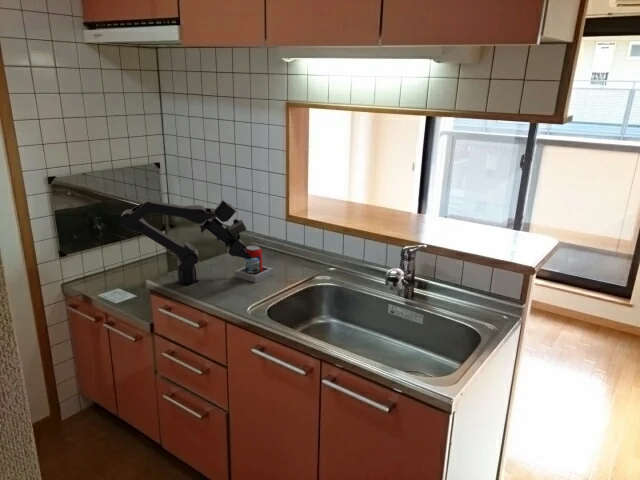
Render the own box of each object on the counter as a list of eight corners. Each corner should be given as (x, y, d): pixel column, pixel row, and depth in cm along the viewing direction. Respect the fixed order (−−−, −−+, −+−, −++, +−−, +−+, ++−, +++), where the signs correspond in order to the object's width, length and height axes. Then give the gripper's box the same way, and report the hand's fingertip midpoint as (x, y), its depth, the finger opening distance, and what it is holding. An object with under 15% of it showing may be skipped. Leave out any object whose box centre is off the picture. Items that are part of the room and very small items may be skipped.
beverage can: (243, 277, 200) (241, 249, 196) (250, 271, 206) (248, 244, 203) (258, 279, 198) (257, 250, 195) (265, 273, 204) (264, 245, 201)
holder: (255, 282, 195) (255, 276, 194) (235, 276, 201) (234, 270, 200) (273, 274, 204) (273, 268, 203) (253, 268, 209) (253, 263, 209)
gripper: (235, 221, 184) (266, 246, 190) (230, 209, 201) (259, 233, 207) (215, 243, 184) (247, 268, 191) (212, 229, 202) (241, 252, 208)
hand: (249, 254), depth 199 cm, fingers open, 9 cm apart
